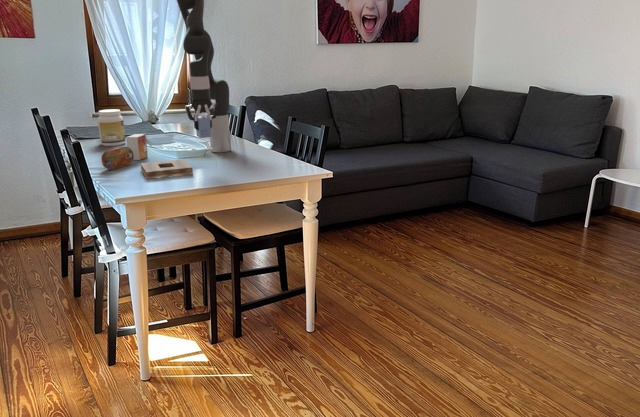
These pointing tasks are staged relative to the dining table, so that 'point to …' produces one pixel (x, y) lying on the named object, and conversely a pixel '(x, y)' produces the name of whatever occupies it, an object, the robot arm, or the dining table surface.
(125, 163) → the tin
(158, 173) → the pocket board
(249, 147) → the dining table surface
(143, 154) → the small box
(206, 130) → the block
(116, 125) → the supplement tub
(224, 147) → the robot arm
